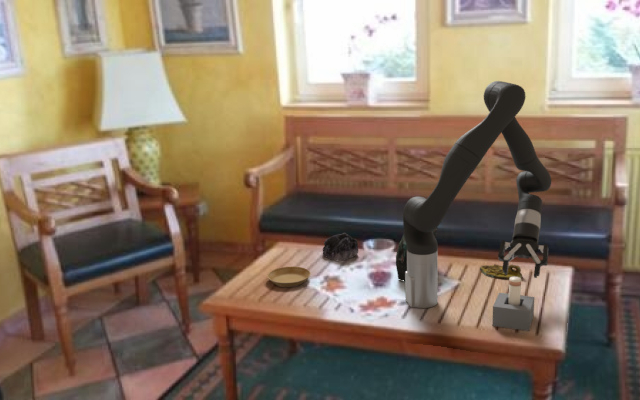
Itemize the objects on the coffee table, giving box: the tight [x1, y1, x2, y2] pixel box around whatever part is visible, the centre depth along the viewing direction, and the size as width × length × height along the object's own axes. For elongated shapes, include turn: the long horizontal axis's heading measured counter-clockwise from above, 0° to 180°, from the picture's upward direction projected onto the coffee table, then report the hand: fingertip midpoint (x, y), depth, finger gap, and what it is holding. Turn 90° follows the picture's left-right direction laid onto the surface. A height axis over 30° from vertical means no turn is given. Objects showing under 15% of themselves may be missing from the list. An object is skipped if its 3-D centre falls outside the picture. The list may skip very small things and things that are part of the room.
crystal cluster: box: [322, 232, 359, 262], centre depth 248 cm, size 13×14×10 cm
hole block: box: [491, 292, 535, 332], centre depth 190 cm, size 10×10×6 cm
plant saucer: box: [267, 266, 311, 288], centre depth 227 cm, size 15×15×3 cm
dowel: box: [508, 277, 522, 306], centre depth 189 cm, size 3×3×12 cm
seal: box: [479, 263, 523, 281], centre depth 224 cm, size 9×5×15 cm
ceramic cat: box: [395, 227, 439, 281], centre depth 226 cm, size 20×6×20 cm, turn 136°
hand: (520, 275), depth 198 cm, fingers open, 8 cm apart
